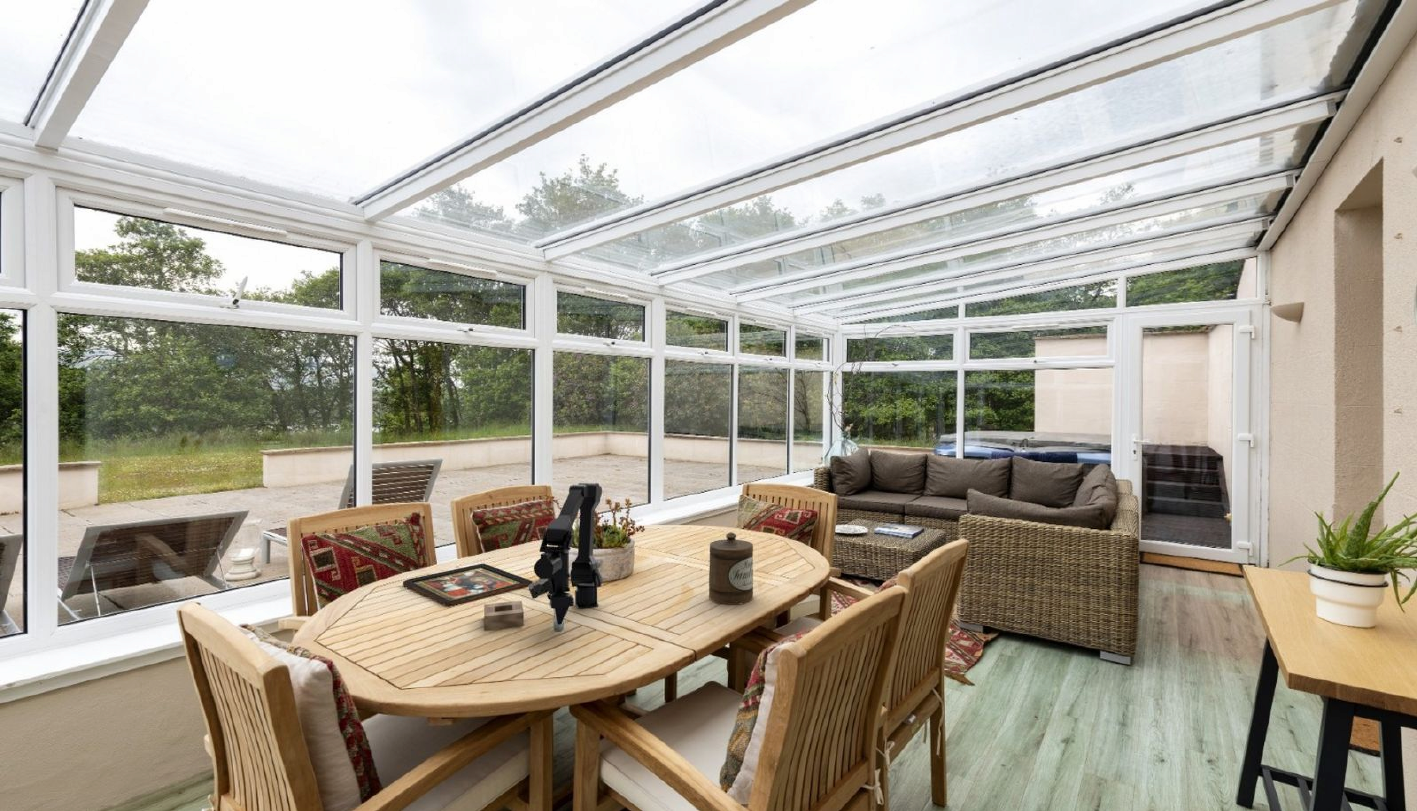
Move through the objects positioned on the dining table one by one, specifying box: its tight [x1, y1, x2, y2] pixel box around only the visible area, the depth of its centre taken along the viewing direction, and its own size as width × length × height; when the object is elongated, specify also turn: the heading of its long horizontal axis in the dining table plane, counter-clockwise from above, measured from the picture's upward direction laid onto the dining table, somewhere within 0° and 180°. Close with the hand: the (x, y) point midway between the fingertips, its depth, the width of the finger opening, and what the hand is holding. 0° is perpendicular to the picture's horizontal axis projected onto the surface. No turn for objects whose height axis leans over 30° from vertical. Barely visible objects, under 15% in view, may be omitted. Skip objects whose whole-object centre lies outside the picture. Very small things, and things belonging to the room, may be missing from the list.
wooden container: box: [708, 532, 754, 605], centre depth 211 cm, size 15×15×22 cm
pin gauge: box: [553, 609, 565, 632], centre depth 182 cm, size 3×3×8 cm
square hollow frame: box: [483, 600, 525, 631], centre depth 188 cm, size 11×11×4 cm
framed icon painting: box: [402, 563, 533, 608], centre depth 224 cm, size 38×35×3 cm
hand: (558, 622), depth 182 cm, fingers closed on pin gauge, 3 cm apart
